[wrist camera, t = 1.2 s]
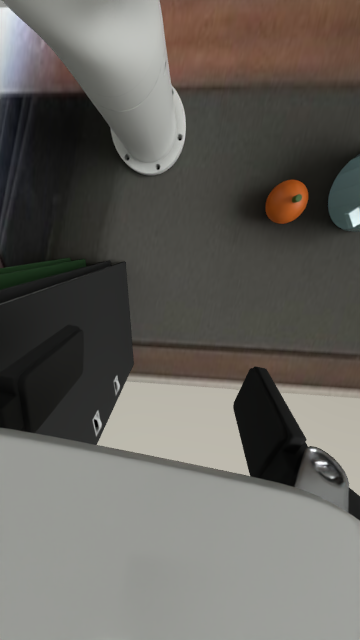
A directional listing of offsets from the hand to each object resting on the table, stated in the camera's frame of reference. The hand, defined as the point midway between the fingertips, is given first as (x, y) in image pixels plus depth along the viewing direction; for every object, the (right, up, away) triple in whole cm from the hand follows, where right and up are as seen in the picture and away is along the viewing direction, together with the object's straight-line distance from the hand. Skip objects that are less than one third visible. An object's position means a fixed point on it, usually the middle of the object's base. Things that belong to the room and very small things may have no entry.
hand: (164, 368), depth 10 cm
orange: (+19, +24, +25) cm, 40 cm away
